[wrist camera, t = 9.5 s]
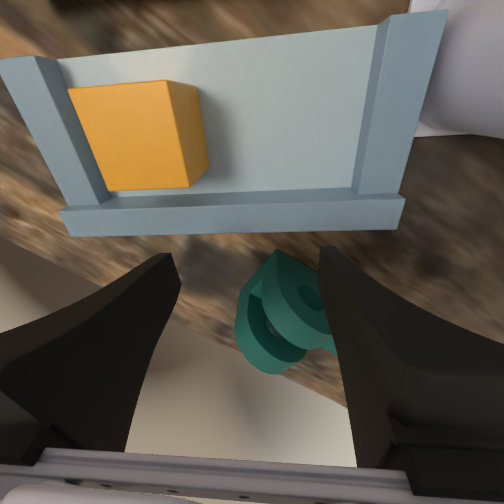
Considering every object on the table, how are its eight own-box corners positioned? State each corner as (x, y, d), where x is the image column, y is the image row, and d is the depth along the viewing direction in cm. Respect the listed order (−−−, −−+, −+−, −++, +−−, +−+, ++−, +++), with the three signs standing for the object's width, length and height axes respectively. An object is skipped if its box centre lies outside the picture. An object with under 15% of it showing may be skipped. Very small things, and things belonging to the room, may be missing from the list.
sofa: (401, 34, 14) (466, -1, 9) (366, 198, 19) (397, 229, 14) (58, 69, 16) (-30, 55, 11) (115, 208, 21) (71, 237, 16)
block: (197, 85, 13) (166, 79, 9) (210, 167, 16) (190, 188, 12) (123, 92, 14) (65, 88, 10) (146, 171, 16) (108, 192, 12)
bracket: (240, 290, 25) (229, 356, 19) (276, 248, 22) (277, 310, 16) (359, 353, 30) (384, 424, 23) (405, 325, 26) (448, 399, 20)
